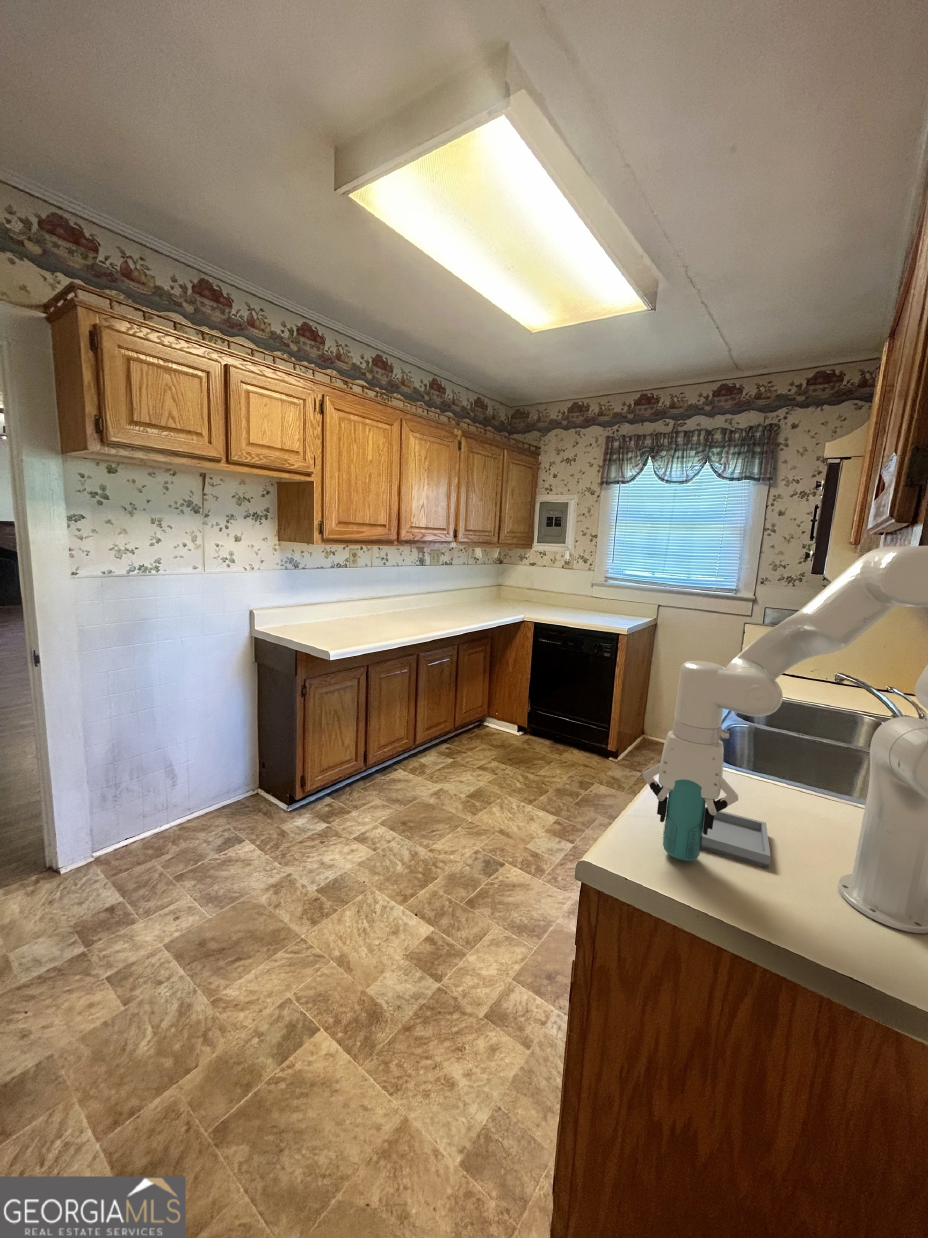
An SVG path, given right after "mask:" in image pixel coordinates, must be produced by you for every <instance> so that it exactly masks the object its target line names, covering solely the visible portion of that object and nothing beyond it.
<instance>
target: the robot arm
mask: <svg viewBox="0 0 928 1238" xmlns="http://www.w3.org/2000/svg"><path fill="white" fill-rule="evenodd" d="M897 606H898V607H899V606H900V607H907V608H928V545H911V546H910V545H908V546H906V545H905V546H904V545H903V546H901V545H900V546H884V547H878V548H874V549H873V550H870V551H868V552H866V553H865V554H863V555H862V556H860V557H859V558H858V559H857V560H855V561H854V562H852V563H851V565H850V566H848V567H847V568H846V569H845V570H844V571H843V572H842V573H840V574H839V575H838V576H837V577H836V578H835V579H833V581H832V582H830V583H829V584H828V585H827V586H826V587H825V588H823V589H822V590H821V591H820V592H818V594H817V595H816V596H815V597H813V598H812V599H811V600H810V601H809V602H808V603H806V605H804V606H803V607H802V608H800V609H799V610H798V611H797V612H796V613H794V614H793V615H791V616H789V617H787V618H786V619H784V620H783V621H781V622H780V623H778V624H777V625H775V626H774V627H772V628H771V629H769V630H767V631H766V632H763V634H761V635H760V636H758V638H756V639H754V641H752V642H751V643H749V645H747V647H745V648H744V649H743V650H742V651H741V652H740V653H739V654H737V656H735V657H734V658H732V660H731V661H730V662H729V663H728V664H727V665H726V666H725V667H724V666H722V665H720V664H718V663H716V662H715V663H714V662H711V661H704V660H688V661H685V662H684V663H683V664H682V665H681V666H680V668H679V674H678V675H679V676H678V682H677V683H678V684H677V685H678V686H677V691H676V692H677V693H676V700H675V708H674V715H673V717H674V718H673V725H672V730H669V731H668V732H667V735H666V738H665V741H664V744H663V749H662V754H661V759H660V762H659V763H657V764H655V765H654V766H652V767H650V768H648V769H646V770H645V771H643V773H642V778H643V779H644V781H645V782H646V784H648V786H649V788H650V790H651V791H652V792H653V794H654V795H655V796H656V799H657V800H658V802H657V809H656V815H658V816H660V817H659V822H660V823H665V820H666V810H667V809H666V808H667V803H668V796H669V792H670V791H671V790H673V789H674V786H675V781H676V780H683V779H684V780H690V781H693V782H695V783H697V784H698V785H700V786H701V787H702V789H701V797H702V798H704V799H705V802H706V804H705V807H706V811H705V819H704V826H703V833H704V835H707V832H708V829H712V828H713V821H714V815H716V813H717V812H719V811H723V810H725V809H726V808H728V807H729V806H731V805H733V804H734V803H736V802H738V801H739V794H738V793H737V792H736V791H735V789H733V787H732V786H731V785H730V784H729V783H728V782H727V781H726V779H724V777H723V775H724V774H723V773H724V762H725V760H724V757H725V753H724V752H725V751H724V742H723V741H722V739H727V740H728V739H729V738H730V731H729V730H725V729H724V728H723V727H722V721H723V720H722V719H723V714H724V713H723V712H724V710H726V711H727V710H728V711H731V712H735V713H738V714H742V715H745V716H748V717H749V716H750V717H756V718H757V717H759V718H760V717H765V716H769V715H771V714H774V713H775V712H777V710H779V708H780V707H781V706H782V703H783V698H784V697H783V690H782V687H781V686H780V684H779V682H778V681H777V679H778V678H780V677H781V676H782V675H783V674H784V673H785V672H787V671H788V670H790V669H791V668H793V667H794V666H796V665H798V664H799V663H802V662H804V661H805V660H807V659H810V658H814V657H818V656H824V655H829V654H833V653H835V652H839V651H841V650H843V649H846V648H848V647H849V646H850V645H852V644H853V643H854V642H855V641H856V640H857V639H858V638H859V637H861V636H863V634H865V633H866V632H867V631H868V630H869V629H871V628H872V627H873V626H875V624H877V623H878V622H879V621H881V619H883V618H884V617H885V616H887V614H889V613H890V612H892V611H893V610H894V609H895V608H897ZM914 695H915V698H916V700H917V701H918V703H919V704H920V705H921V706H922V707H923V708H924V709H925V710H927V711H928V663H927V664H926V666H925V668H924V669H923V670H922V672H921V674H920V675H919V677H918V679H917V681H916V682H915V687H914ZM656 775H658V781H657V780H655V776H656ZM868 781H869V783H868V789H867V793H866V794H867V796H866V801H865V805H864V810H863V815H862V821H861V826H860V831H859V836H858V841H857V847H856V848H857V849H856V853H855V858H854V863H853V869H852V873H850V874H844V875H842V876H841V877H840V879H839V880H838V884H837V889H838V892H839V893H840V895H841V896H842V897H843V899H844V900H845V901H846V902H847V903H848V904H849V905H850V906H852V907H853V908H854V909H856V910H857V911H859V912H860V913H861V914H864V916H866V917H868V918H870V919H872V920H874V921H876V922H878V923H881V924H882V925H885V926H887V927H891V928H894V929H896V930H900V931H903V932H908V933H914V934H928V720H926V719H922V718H918V717H913V716H898V717H894V718H890V719H889V720H886V721H885V722H883V723H882V724H880V725H879V726H878V728H877V729H876V730H875V731H874V733H873V735H872V738H871V741H870V748H869V780H868ZM721 791H723V793H724V794H725V796H724V797H720V793H721ZM719 797H720V798H719Z"/></svg>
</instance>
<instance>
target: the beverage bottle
mask: <svg viewBox="0 0 928 1238" xmlns="http://www.w3.org/2000/svg"><path fill="white" fill-rule="evenodd" d="M701 789H702V787H701V786H700V785H698V784H697V783H695V782H693V781H690V780H684V779H683V780H676V781H675V786H674V789H673V790H671V791H670V792H669V793H668V795H667V797H668V801H667V808H666V816H665V820H664V823H663V826H664V827H663V833H662V834H663V838H662V842H661V843H662V846H663V849H664V851H665V852H666V853H667V854H668V855H670V856H671V857H673V858H675V859H677V860H682V861H687V862H689V861H690V862H691V861H695V860H697V859H698V858H699V856H700V854H701V851H702V849H701V848H700V847H701V846H702V842H701V839H702V838H703V835H702V830H703V826H704V825H703V822H704V819H705V816H704V814H705V807H706V802H705V799H704V798H702V797H701Z"/></svg>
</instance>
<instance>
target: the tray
mask: <svg viewBox="0 0 928 1238" xmlns="http://www.w3.org/2000/svg"><path fill="white" fill-rule="evenodd" d="M706 807H707V806H705V811H706ZM704 816H705V814H704ZM703 825H704V822H703ZM768 834H769V833H768V828H767V822H765V821H762V820H757V819H754V818H750V817H746V816H743V815H739V814H736V813H735V814H734V813H732V812H731V813H730V812H727V811H723V810H721V811H719V812H717V813H716V815H714V821H713V828H712V829H708V832H707V835H704V833H703V830H702V835H703V838H702V839H701V842H702V846H701V847H700V849H701V850H705V851H708V852H711V853H715V854H718V855H721V856H725V857H728V858H730V859H734V860H738V861H741V862H745V863H747V864H751V865H755V866H758V867H762V868H764V869H768V870H769V869H770V862H771V858H772V857H771V848H770V843H769V835H768Z"/></svg>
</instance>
